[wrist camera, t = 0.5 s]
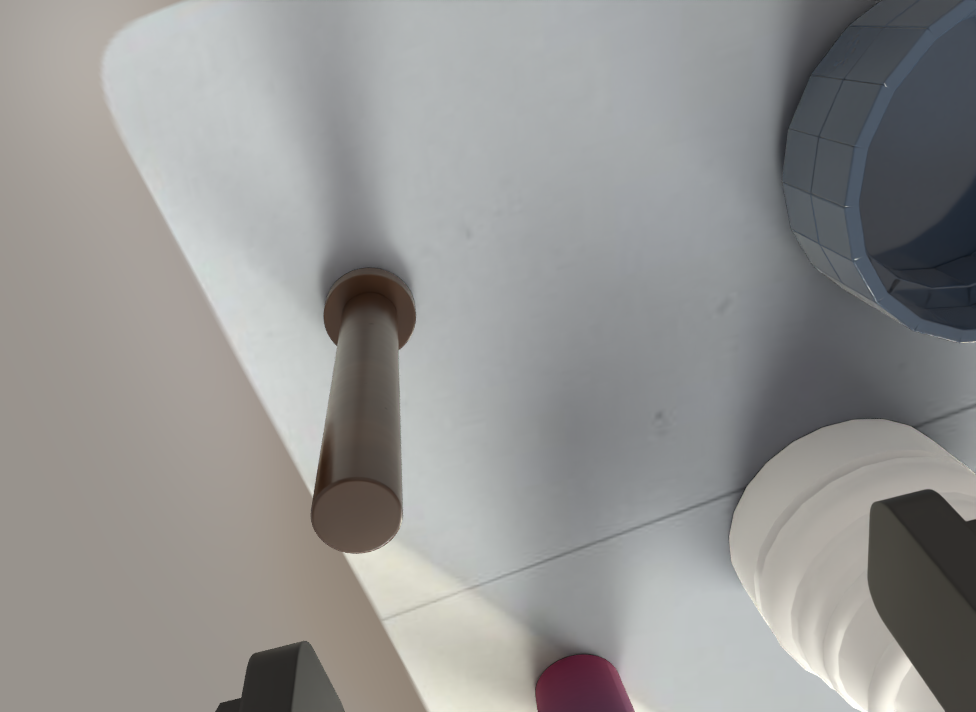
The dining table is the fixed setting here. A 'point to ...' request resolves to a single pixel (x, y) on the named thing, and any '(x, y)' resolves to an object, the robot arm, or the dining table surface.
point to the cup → (581, 687)
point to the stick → (363, 413)
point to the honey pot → (839, 552)
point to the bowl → (893, 164)
